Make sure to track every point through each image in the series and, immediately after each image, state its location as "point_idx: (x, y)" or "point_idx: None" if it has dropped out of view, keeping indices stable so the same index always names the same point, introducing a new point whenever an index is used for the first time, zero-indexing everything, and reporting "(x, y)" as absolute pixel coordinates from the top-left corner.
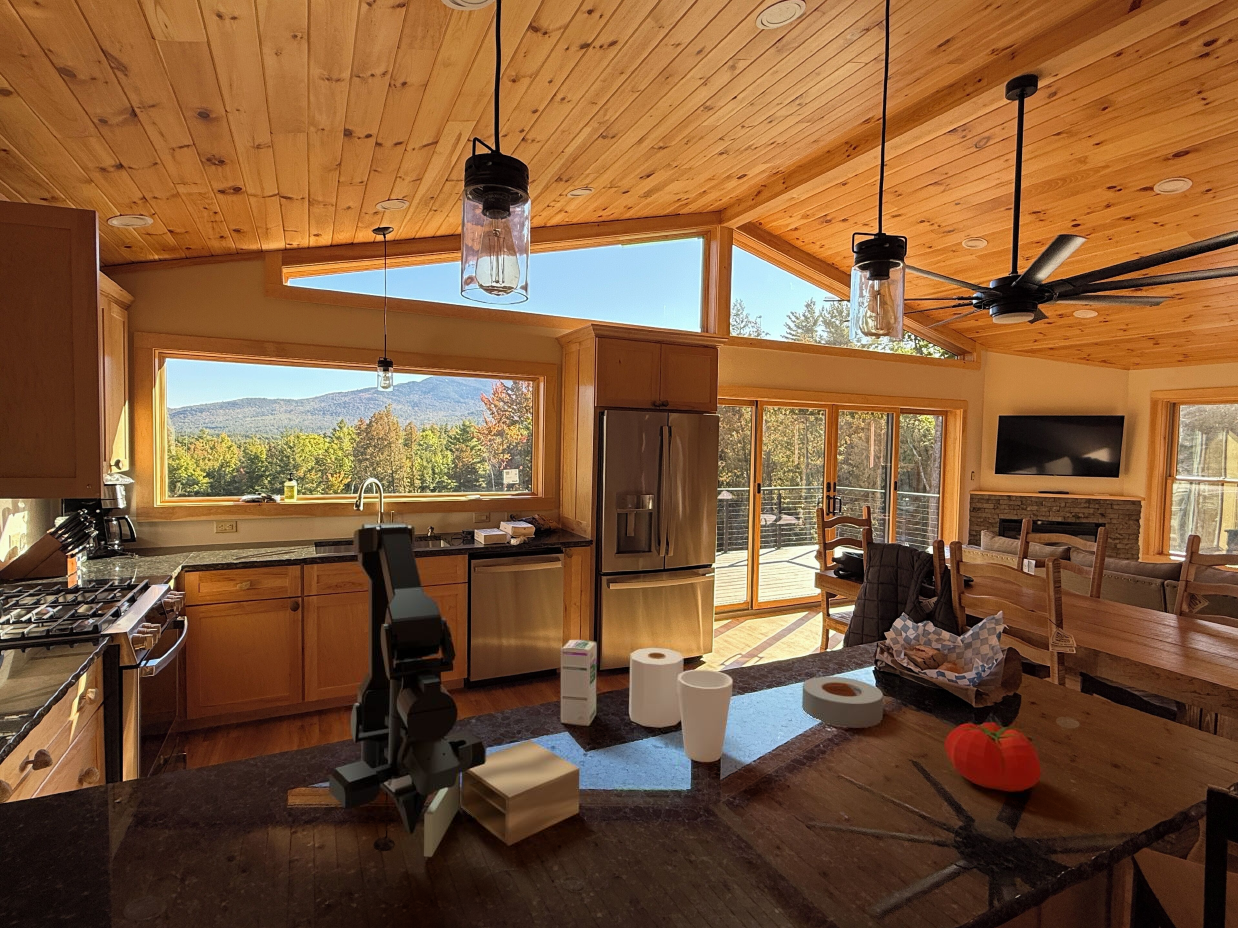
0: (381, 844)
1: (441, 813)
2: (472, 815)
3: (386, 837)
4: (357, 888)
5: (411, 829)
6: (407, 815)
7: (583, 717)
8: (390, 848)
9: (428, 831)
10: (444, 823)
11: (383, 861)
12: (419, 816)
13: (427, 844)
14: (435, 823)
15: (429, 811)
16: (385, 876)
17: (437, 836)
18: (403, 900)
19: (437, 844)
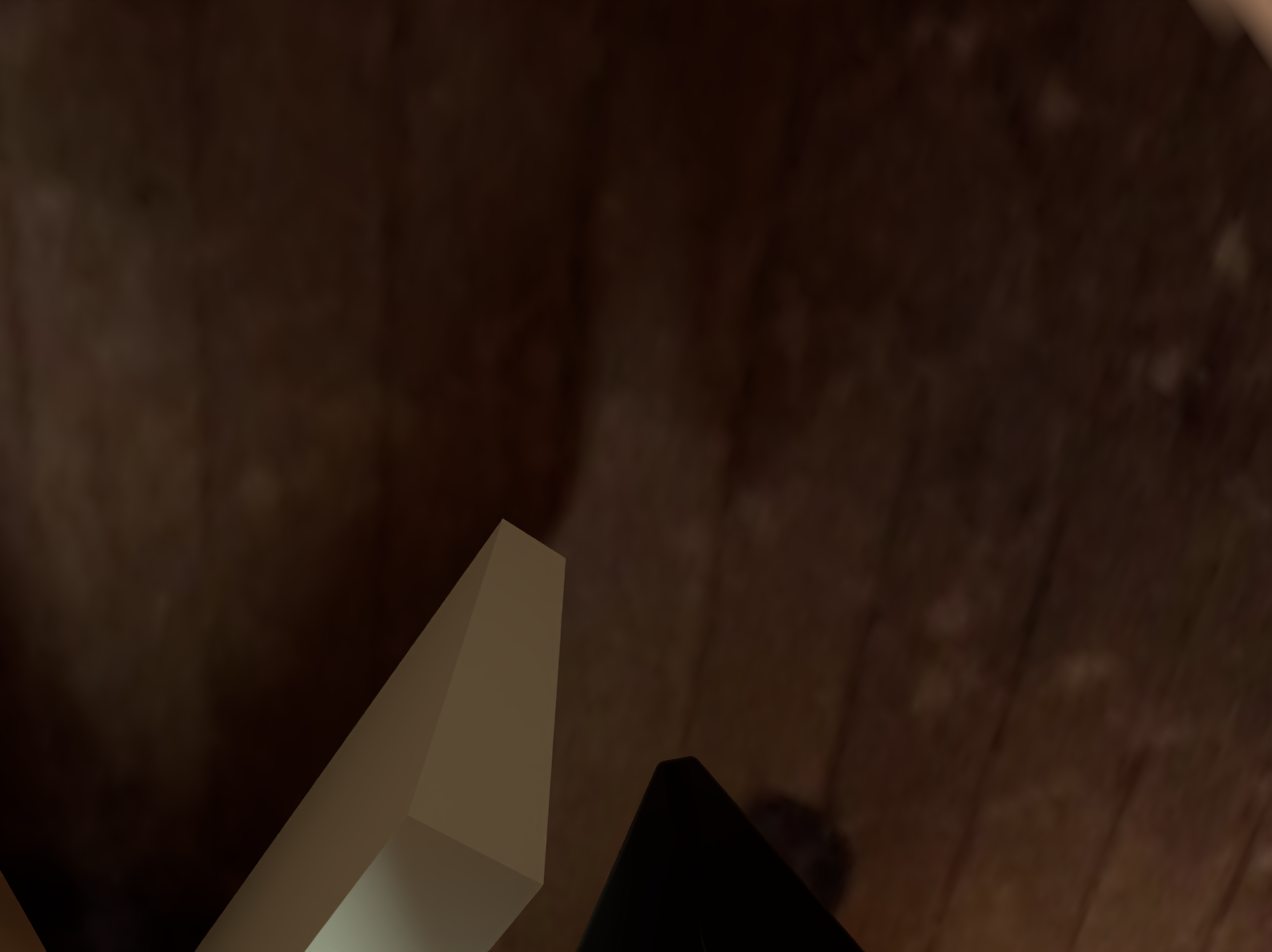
0: (798, 875)
1: (255, 931)
2: (20, 937)
3: None
4: (1131, 447)
5: (694, 784)
6: (844, 943)
7: None
8: (756, 806)
9: (507, 663)
10: (276, 856)
11: (852, 679)
12: (597, 907)
13: (531, 586)
14: (382, 759)
15: (434, 922)
16: (903, 489)
17: (394, 689)
18: (888, 73)
19: (412, 648)
